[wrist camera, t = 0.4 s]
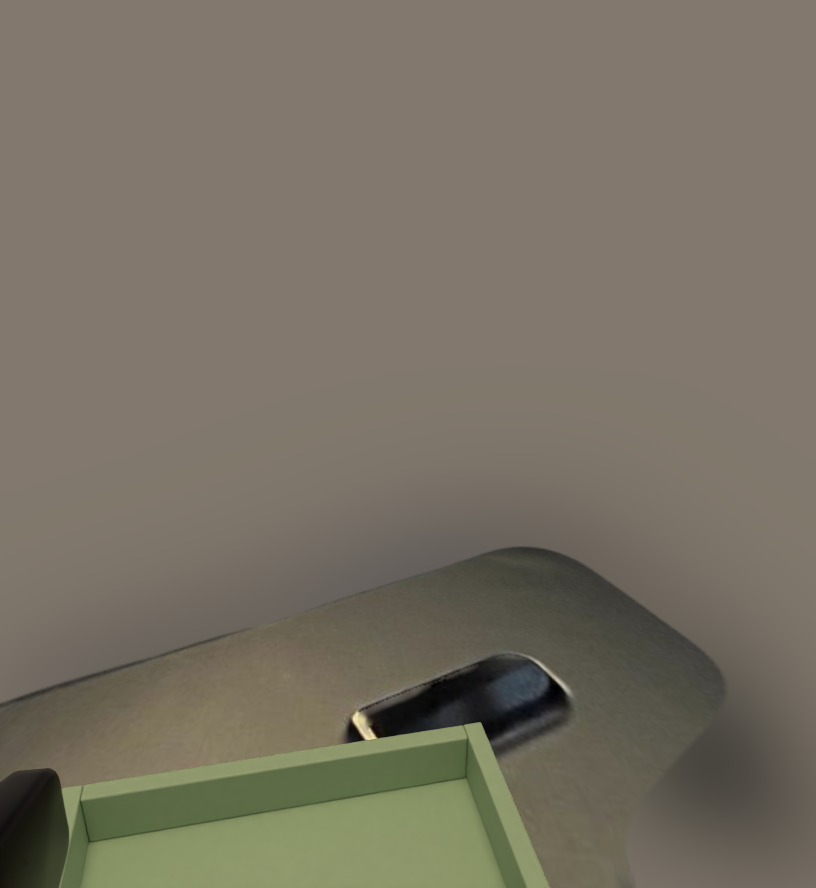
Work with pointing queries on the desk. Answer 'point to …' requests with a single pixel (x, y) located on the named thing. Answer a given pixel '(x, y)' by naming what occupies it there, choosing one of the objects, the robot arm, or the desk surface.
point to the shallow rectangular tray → (310, 821)
